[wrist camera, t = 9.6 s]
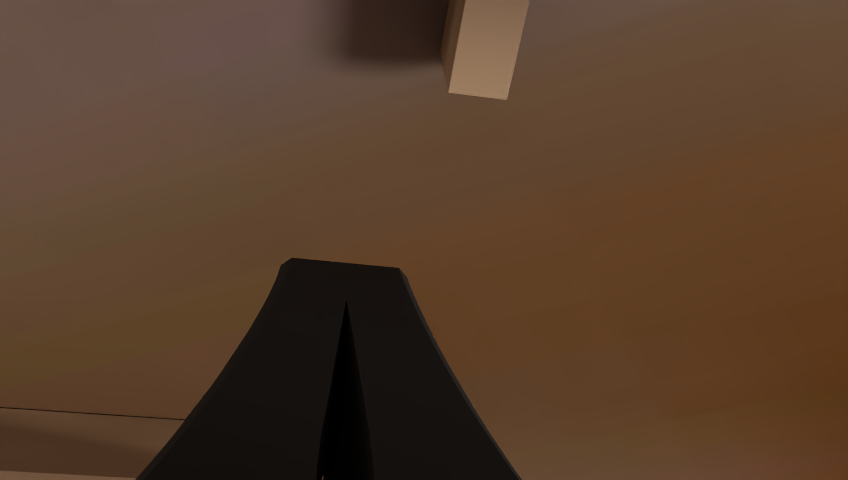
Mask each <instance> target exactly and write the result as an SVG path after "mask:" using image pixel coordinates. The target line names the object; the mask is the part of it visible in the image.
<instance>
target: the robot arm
mask: <svg viewBox="0 0 848 480" xmlns="http://www.w3.org/2000/svg"><path fill="white" fill-rule="evenodd" d="M322 478H323V480H522V479H521V478H520V477H519V475H518V474H517V472H516V471H515V470H514V468H513V467H512V465H511V464H510V462H509V461H508V459H507V458H506V457H505V455H504V454H503V452H502V451H501V449H500V448H499V446H498V445H497V443H496V442H495V440H494V439H493V437H492V436H491V434H490V433H489V431H488V430H487V428H486V427H485V425H484V423H483V422H482V420H481V419H480V417H479V416H478V414H477V412H476V411H475V409H474V408H473V406H472V404H471V403H470V401H469V399H468V397H467V396H466V394H465V392H464V391H463V389H462V387H461V385H460V384H459V382H458V380H457V379H456V377H455V375H454V373H453V372H452V370H451V368H450V367H449V365H448V363H447V361H446V359H445V357H444V356H443V354H442V352H441V350H440V348H439V346H438V344H437V342H436V340H435V339H434V337H433V335H432V333H431V331H430V329H429V327H428V325H427V323H426V321H425V319H424V316H423V314H422V312H421V310H420V308H419V306H418V303H417V301H416V299H415V297H414V294H413V292H412V290H411V287H410V285H409V282H408V279H407V277H406V276H405V275H404V273H403V272H402V271H401V270H400V269H399V268H393V267H383V266H372V265H362V264H351V263H341V262H330V261H320V260H309V259H299V258H291V259H289V260H288V261H286V262H285V263H284V264H282V265H281V266H280V270H279V273H278V276H277V278H276V281H275V283H274V285H273V287H272V289H271V292H270V294H269V296H268V298H267V299H266V301H265V303H264V305H263V307H262V309H261V310H260V312H259V314H258V316H257V317H256V319H255V321H254V322H253V324H252V326H251V328H250V329H249V331H248V333H247V334H246V336H245V337H244V339H243V340H242V342H241V343H240V345H239V346H238V348H237V349H236V351H235V352H234V354H233V355H232V357H231V358H230V360H229V361H228V363H227V364H226V366H225V367H224V369H223V370H222V372H221V373H220V375H219V376H218V377H217V379H216V380H215V382H214V383H213V384H212V386H211V387H210V388H209V390H208V391H207V392H206V394H205V395H204V396H203V397H202V399H201V400H200V401H199V403H198V404H197V405H196V406H195V408H194V409H193V410H192V412H191V413H190V414H189V415H188V417H187V418H186V419H185V421H184V422H183V423H182V425H181V426H180V427H179V428H178V430H177V431H176V432H175V434H174V435H173V436H172V437H171V439H170V440H169V441H168V442H167V443H166V445H165V446H164V447H163V448H162V449H161V450H160V452H159V453H158V454H157V455H156V456H155V457H154V459H153V460H152V461H151V462H150V463H149V465H148V466H147V467H146V468H145V469H144V470H143V471H142V472H141V474H140V475H139V476H138V477H137V478H136V479H135V480H322Z"/></svg>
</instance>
